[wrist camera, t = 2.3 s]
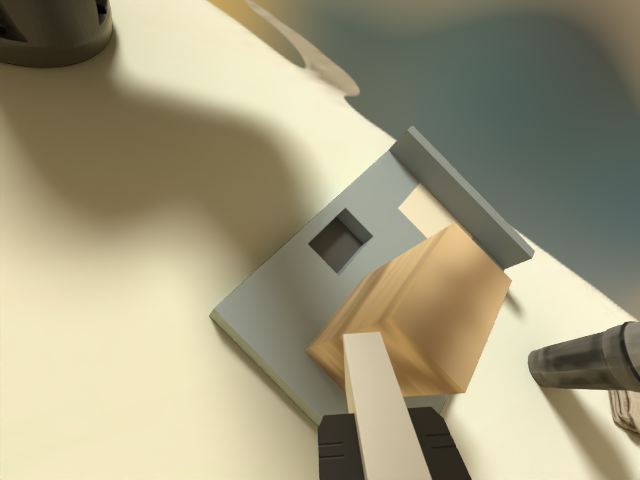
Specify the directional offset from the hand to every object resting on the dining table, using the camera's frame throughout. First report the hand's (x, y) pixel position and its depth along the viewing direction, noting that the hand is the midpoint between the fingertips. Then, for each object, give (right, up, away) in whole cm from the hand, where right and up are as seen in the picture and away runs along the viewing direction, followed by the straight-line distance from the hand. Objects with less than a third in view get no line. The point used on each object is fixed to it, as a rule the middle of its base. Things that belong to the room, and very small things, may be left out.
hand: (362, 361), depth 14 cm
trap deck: (+5, 0, +26) cm, 26 cm away
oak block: (+2, -4, +19) cm, 20 cm away
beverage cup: (+27, -12, +31) cm, 43 cm away
